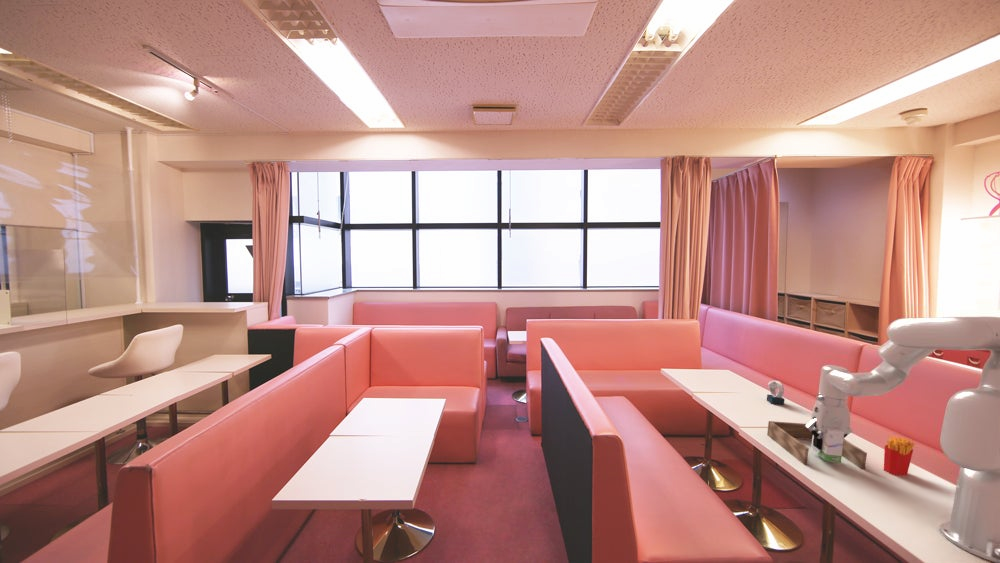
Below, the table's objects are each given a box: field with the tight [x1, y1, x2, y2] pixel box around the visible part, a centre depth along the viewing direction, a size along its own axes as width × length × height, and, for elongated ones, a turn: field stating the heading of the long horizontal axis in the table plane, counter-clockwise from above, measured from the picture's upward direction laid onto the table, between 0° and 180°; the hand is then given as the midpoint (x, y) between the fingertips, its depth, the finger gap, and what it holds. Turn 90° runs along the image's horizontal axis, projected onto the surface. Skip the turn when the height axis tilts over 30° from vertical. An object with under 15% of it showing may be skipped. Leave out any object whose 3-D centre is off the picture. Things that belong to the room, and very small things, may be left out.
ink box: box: [810, 427, 845, 464], centre depth 129 cm, size 8×5×12 cm, turn 167°
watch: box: [766, 380, 786, 406], centre depth 179 cm, size 6×8×11 cm
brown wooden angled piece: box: [766, 420, 868, 470], centre depth 136 cm, size 20×20×6 cm
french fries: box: [883, 436, 915, 476], centre depth 124 cm, size 8×4×12 cm, turn 91°
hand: (826, 447), depth 130 cm, fingers closed on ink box, 5 cm apart
